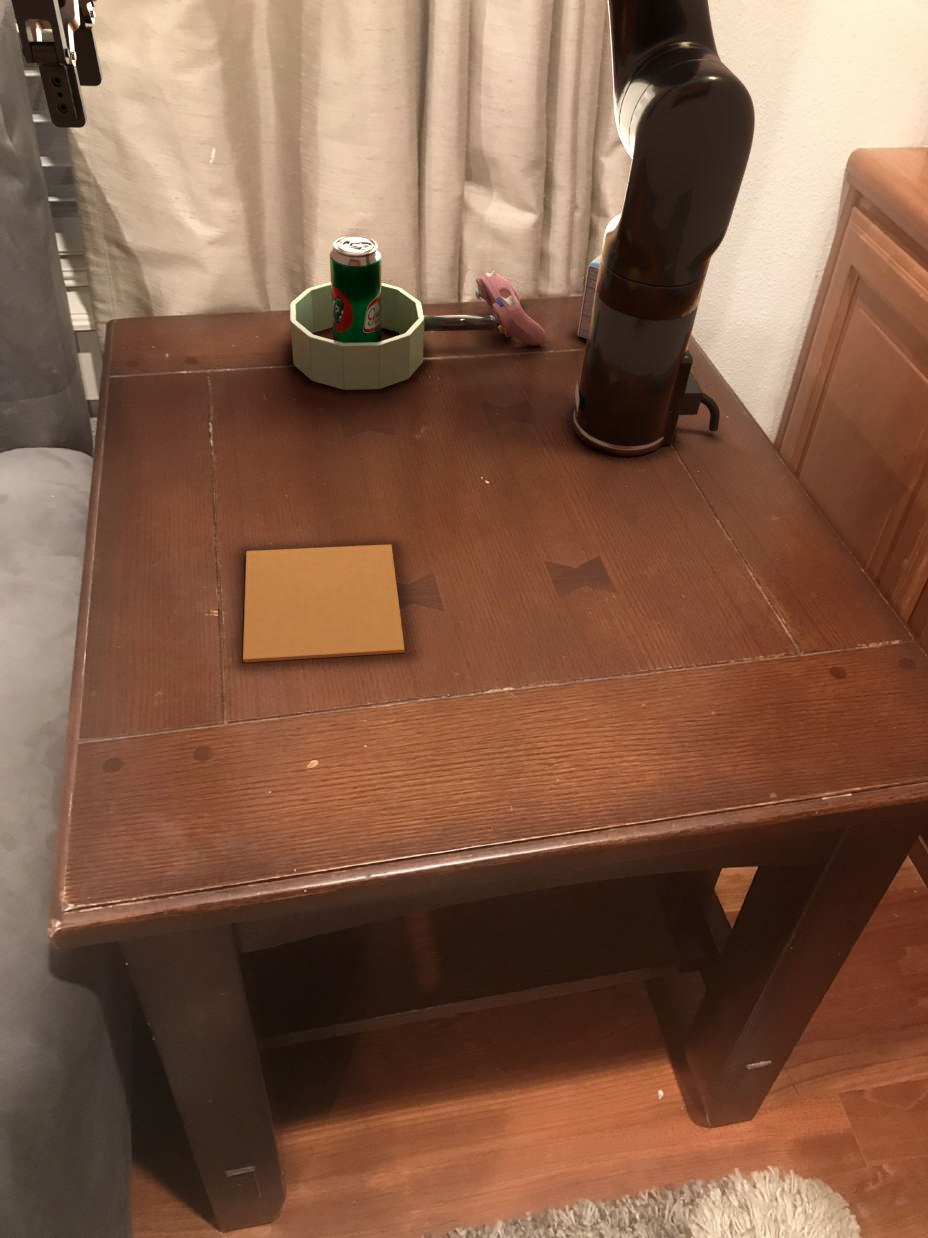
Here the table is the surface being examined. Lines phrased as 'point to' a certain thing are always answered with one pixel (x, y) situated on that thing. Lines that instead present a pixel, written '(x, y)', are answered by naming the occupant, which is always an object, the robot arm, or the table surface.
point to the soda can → (356, 290)
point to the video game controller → (508, 309)
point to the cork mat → (321, 603)
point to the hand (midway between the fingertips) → (79, 103)
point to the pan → (368, 360)
